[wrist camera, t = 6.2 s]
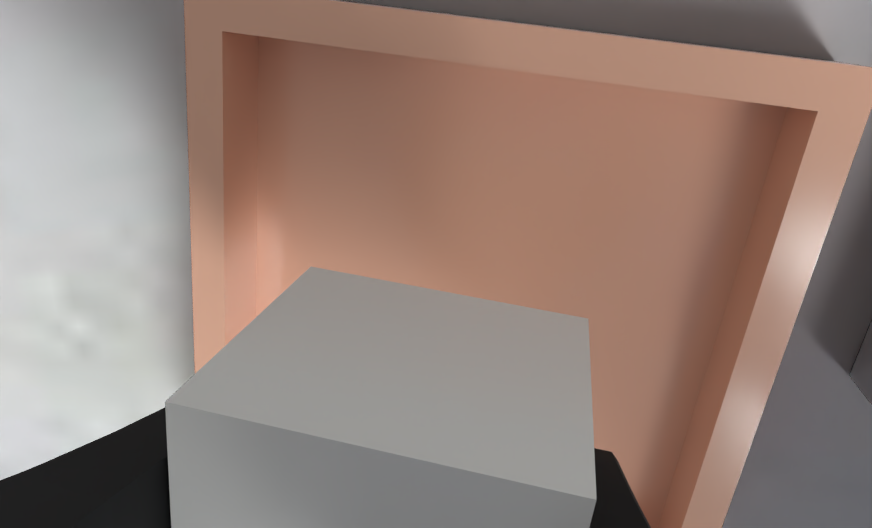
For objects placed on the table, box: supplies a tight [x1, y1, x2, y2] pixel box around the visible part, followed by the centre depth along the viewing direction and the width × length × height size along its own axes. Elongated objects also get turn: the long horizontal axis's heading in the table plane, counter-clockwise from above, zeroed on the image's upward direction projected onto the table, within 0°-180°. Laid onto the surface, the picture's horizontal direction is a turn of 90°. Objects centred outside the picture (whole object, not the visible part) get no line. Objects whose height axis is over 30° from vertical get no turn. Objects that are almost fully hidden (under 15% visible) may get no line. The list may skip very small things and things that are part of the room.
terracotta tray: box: [184, 0, 872, 528], centre depth 15 cm, size 13×13×2 cm
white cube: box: [165, 267, 597, 528], centre depth 9 cm, size 4×4×4 cm
